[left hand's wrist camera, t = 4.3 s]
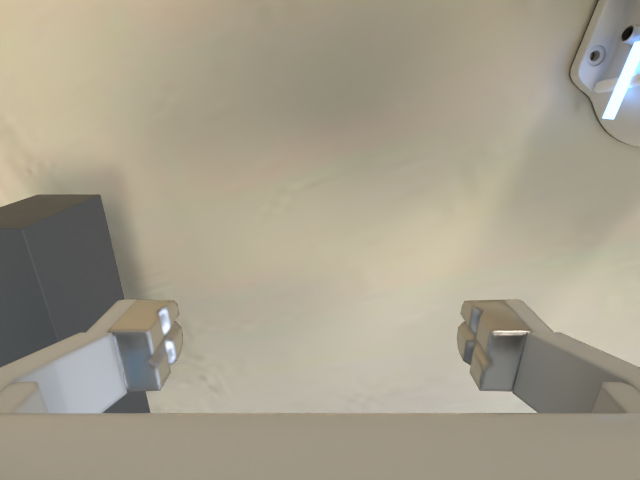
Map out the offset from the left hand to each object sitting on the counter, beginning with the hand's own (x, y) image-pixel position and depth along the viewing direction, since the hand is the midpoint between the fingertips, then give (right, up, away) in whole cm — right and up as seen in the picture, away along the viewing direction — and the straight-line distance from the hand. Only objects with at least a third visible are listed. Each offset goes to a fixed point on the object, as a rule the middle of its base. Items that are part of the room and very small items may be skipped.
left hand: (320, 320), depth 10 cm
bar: (-21, -6, +24) cm, 32 cm away
